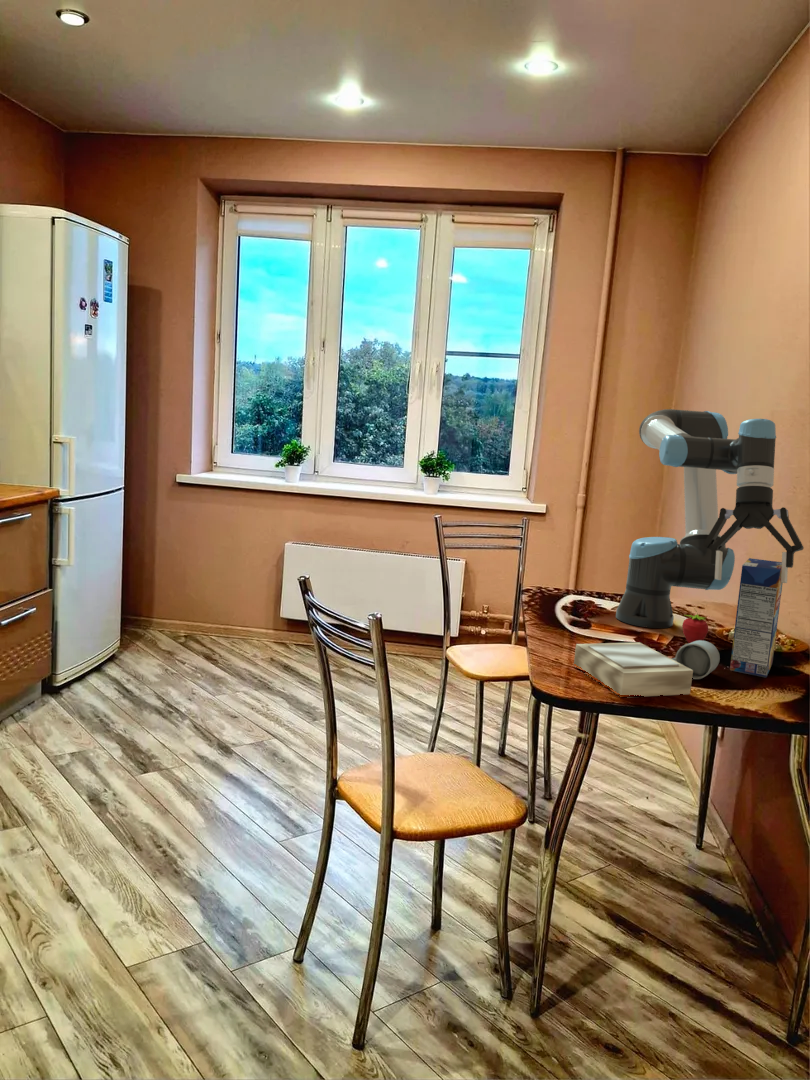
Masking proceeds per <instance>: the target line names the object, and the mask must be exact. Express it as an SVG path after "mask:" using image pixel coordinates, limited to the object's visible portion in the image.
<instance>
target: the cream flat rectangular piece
mask: <svg viewBox="0 0 810 1080" xmlns="http://www.w3.org/2000/svg"><path fill="white" fill-rule="evenodd" d="M573 658H574V659H573V665H574V664H576V665H577V666H579V667H581V668H582V669H583V670H585V671H586V672H588V673H589V674H591V675H592V676H594V677H595V678H597V679H598V680H600V681H601V682H603V683H604V684H605V685H607V686H609V687H610V688H612V689H613V690H614V691H616V692H617V693H619V694H620V695H629V696H630V695H634V696H635V695H636V696H637V695H639V696H640V695H641V696H644V697H658V696H659V697H661V696H660V695H663V696H679V695H680V694H683V695H690V694H691V688H692V681H693V679H692V675H693V670H692V669H690V668H688V667H686V666H684V665H682V664H680V663H678V662H676V661H674V660H672V658H671V657H668V656H667V655H664V654H662V653H661V652H659V651H656V650H655V649H653V648H651V647H649V646H648V645H646V644H643V643H642V642H640V641H639V642H605V643H576V644H575V650H574V657H573Z"/></svg>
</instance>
